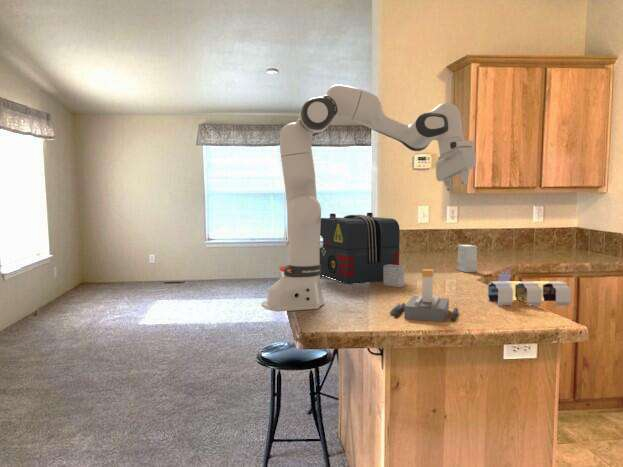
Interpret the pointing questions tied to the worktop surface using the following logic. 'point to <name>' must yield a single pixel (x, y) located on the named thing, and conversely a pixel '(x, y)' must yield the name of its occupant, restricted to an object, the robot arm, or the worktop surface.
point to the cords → (397, 310)
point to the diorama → (528, 291)
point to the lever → (427, 285)
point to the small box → (467, 258)
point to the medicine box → (393, 275)
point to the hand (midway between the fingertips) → (457, 187)
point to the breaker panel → (427, 309)
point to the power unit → (358, 247)
